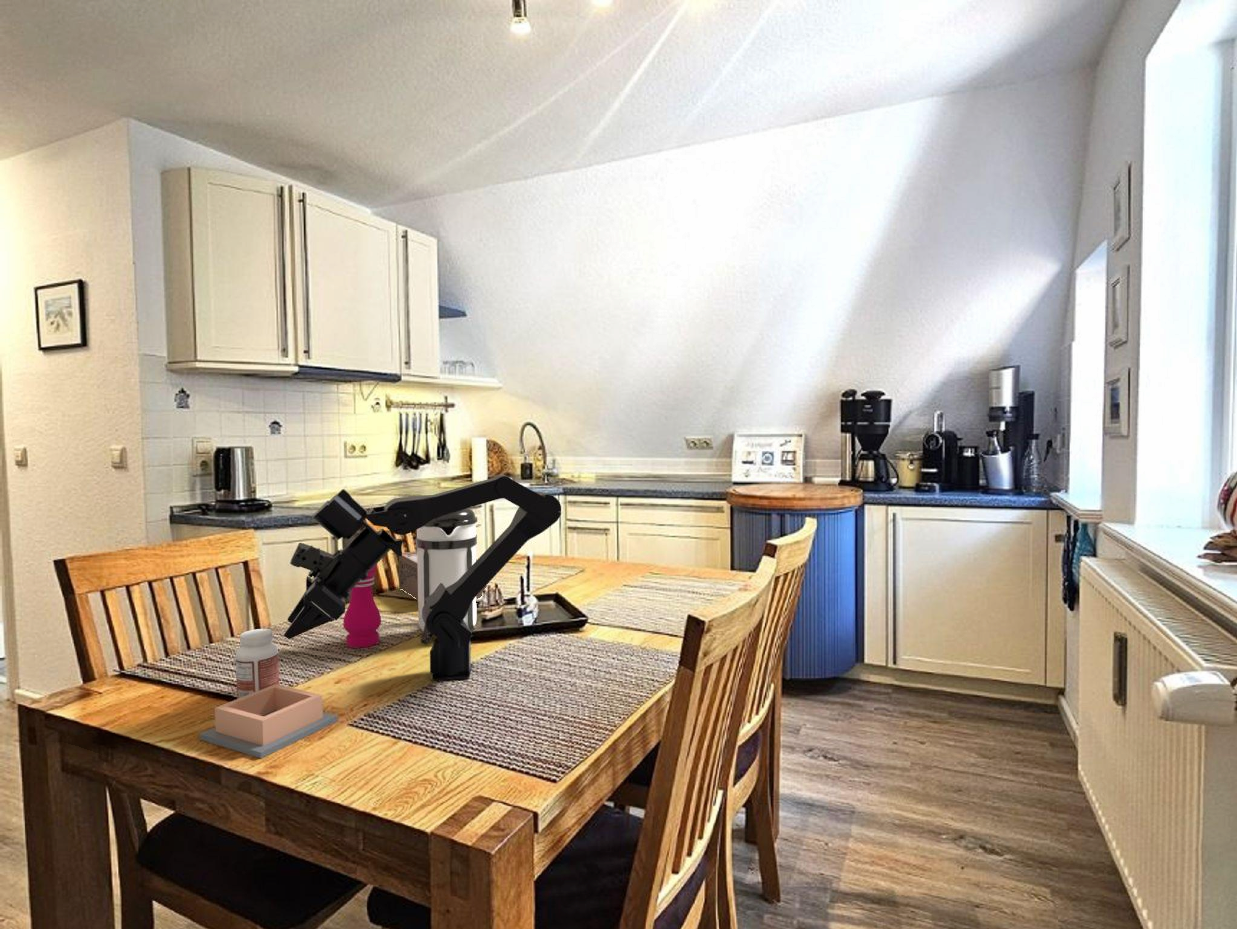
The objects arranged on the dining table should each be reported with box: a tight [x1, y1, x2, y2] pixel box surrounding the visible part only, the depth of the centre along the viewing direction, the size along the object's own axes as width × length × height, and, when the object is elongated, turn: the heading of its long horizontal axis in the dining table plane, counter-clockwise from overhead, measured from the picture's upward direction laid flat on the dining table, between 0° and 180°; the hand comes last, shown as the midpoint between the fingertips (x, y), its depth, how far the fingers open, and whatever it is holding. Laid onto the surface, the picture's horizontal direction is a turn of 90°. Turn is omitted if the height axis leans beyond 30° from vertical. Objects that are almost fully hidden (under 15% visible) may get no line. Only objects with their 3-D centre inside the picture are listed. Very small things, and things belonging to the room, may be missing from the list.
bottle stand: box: [198, 684, 339, 759], centre depth 102 cm, size 13×13×4 cm
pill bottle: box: [234, 628, 280, 699], centre depth 113 cm, size 6×6×11 cm
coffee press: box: [415, 507, 478, 645], centre depth 148 cm, size 17×16×30 cm
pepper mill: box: [342, 563, 382, 649], centre depth 142 cm, size 7×7×20 cm
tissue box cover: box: [398, 550, 488, 600], centre depth 182 cm, size 26×14×10 cm, turn 34°
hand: (287, 629), depth 114 cm, fingers open, 9 cm apart
